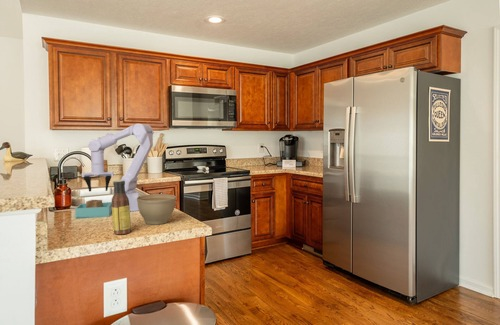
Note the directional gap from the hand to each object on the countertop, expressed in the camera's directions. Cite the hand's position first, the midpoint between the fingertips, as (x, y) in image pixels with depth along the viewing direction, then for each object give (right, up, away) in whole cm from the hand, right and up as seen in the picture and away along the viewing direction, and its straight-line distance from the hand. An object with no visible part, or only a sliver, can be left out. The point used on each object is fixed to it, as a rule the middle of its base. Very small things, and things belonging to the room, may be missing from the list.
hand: (98, 190), depth 172 cm
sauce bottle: (+28, -13, -43) cm, 53 cm away
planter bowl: (+37, -11, -26) cm, 47 cm away
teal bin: (+3, -10, -12) cm, 16 cm away
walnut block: (+3, -10, -12) cm, 16 cm away
